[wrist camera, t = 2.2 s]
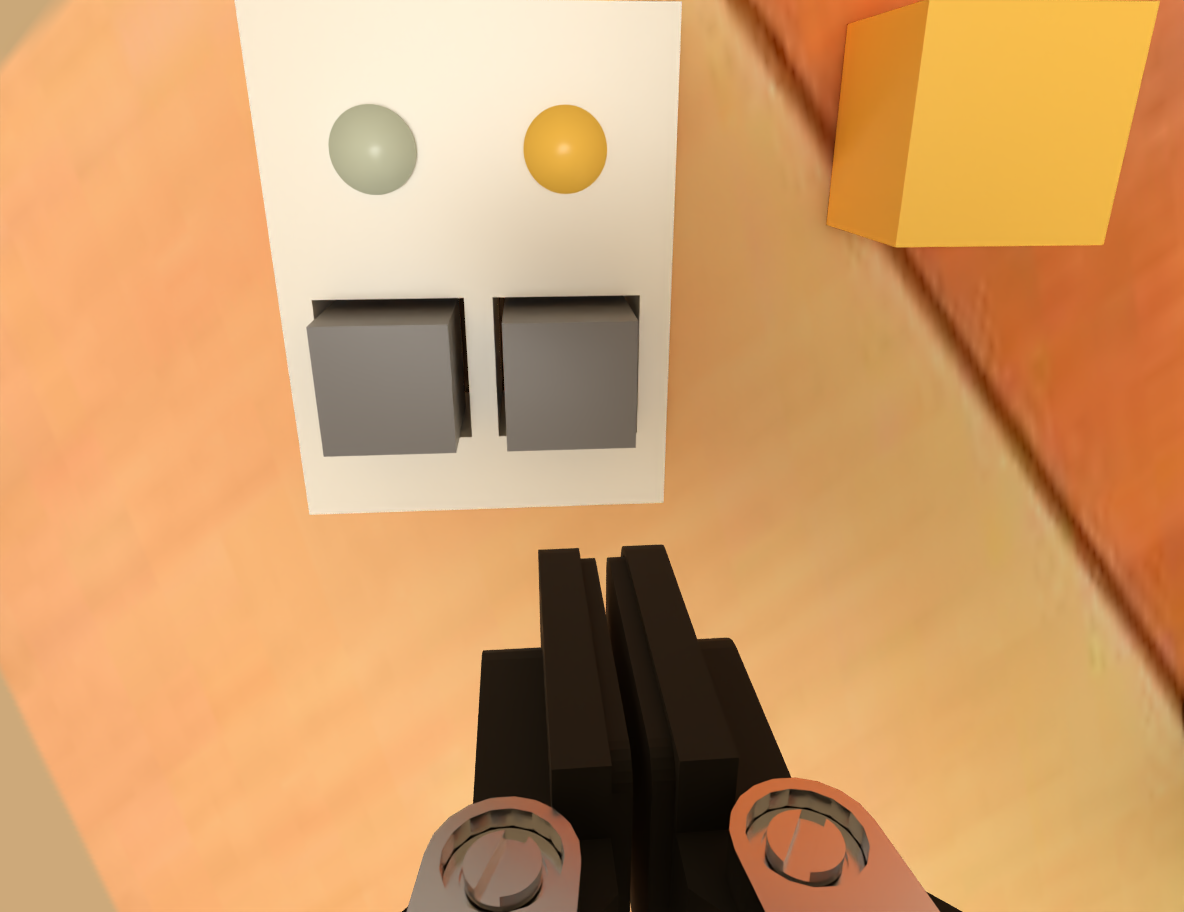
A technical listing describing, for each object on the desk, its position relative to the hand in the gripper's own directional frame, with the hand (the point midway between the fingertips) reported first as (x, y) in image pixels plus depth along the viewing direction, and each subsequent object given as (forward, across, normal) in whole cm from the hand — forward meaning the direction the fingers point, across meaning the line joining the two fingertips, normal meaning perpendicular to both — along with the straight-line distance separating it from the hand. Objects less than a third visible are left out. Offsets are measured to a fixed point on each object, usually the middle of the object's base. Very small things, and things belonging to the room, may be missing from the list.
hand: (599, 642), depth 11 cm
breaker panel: (+18, +2, -2) cm, 19 cm away
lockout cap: (+18, -12, -6) cm, 23 cm away
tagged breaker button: (+16, 0, 0) cm, 16 cm away
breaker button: (+16, +5, 0) cm, 17 cm away
